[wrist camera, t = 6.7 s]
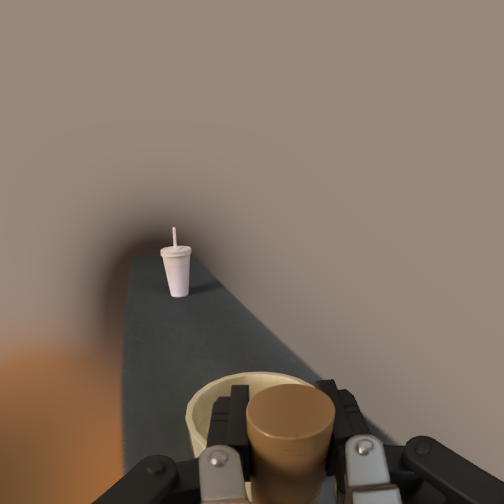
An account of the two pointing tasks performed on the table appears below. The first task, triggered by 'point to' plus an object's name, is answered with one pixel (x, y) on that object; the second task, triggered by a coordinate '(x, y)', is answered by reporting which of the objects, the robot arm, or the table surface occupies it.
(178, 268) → the smoothie
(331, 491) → the table surface
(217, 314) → the table surface
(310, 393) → the brush
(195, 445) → the bowl
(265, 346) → the table surface
